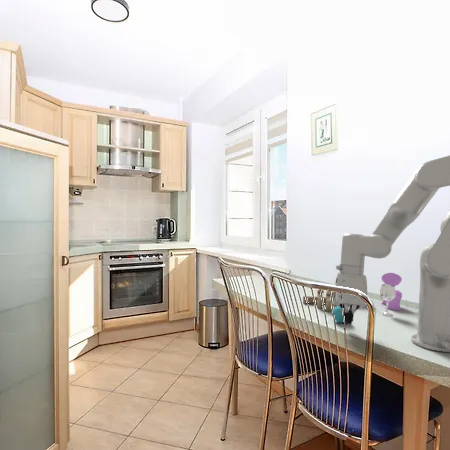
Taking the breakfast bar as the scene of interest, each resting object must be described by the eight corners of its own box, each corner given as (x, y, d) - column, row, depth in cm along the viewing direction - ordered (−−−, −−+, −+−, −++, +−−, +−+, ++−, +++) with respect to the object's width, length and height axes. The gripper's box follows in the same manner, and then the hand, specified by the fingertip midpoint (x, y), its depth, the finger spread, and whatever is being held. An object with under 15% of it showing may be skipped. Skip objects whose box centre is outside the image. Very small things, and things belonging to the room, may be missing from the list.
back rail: (340, 305, 148) (340, 298, 148) (303, 303, 148) (304, 297, 148) (338, 304, 150) (338, 297, 150) (302, 302, 150) (303, 296, 150)
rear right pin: (335, 309, 141) (336, 289, 141) (329, 309, 141) (330, 289, 141) (333, 307, 144) (334, 288, 144) (327, 307, 144) (328, 287, 144)
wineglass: (391, 313, 139) (392, 284, 138) (396, 317, 133) (398, 287, 132) (376, 312, 139) (378, 283, 139) (381, 316, 133) (383, 286, 133)
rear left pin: (323, 308, 141) (324, 288, 141) (317, 308, 141) (318, 288, 141) (321, 307, 144) (322, 287, 144) (316, 306, 144) (316, 287, 144)
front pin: (332, 311, 137) (333, 291, 137) (326, 311, 137) (327, 291, 137) (330, 310, 140) (331, 290, 139) (324, 309, 140) (325, 289, 139)
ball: (351, 325, 120) (352, 308, 120) (334, 324, 120) (335, 308, 120) (345, 320, 126) (346, 304, 126) (329, 319, 126) (330, 303, 126)
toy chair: (383, 308, 145) (384, 274, 145) (378, 303, 154) (380, 271, 154) (404, 310, 144) (405, 276, 143) (398, 305, 152) (400, 272, 152)
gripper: (333, 270, 110) (328, 325, 110) (378, 273, 110) (374, 328, 110) (326, 266, 117) (322, 318, 118) (369, 269, 117) (365, 321, 118)
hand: (347, 323), depth 114 cm, fingers closed
